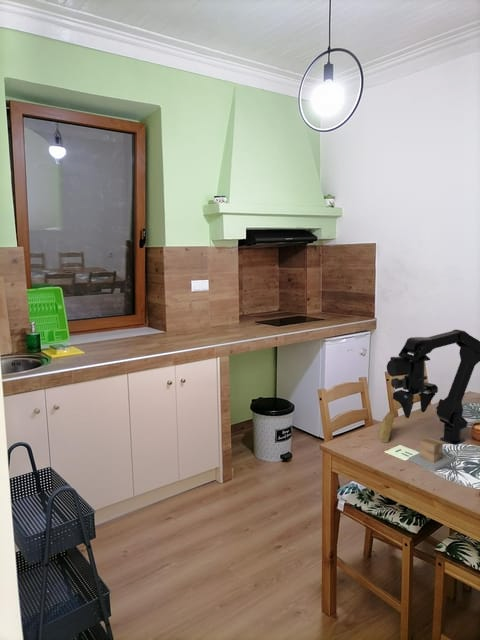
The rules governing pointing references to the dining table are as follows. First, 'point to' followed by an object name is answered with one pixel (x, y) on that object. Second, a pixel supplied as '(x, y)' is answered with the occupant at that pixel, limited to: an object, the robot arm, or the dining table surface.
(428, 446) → the block
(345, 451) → the dining table surface
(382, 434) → the rock
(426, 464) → the slate board
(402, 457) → the pale cream tile
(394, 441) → the dining table surface
